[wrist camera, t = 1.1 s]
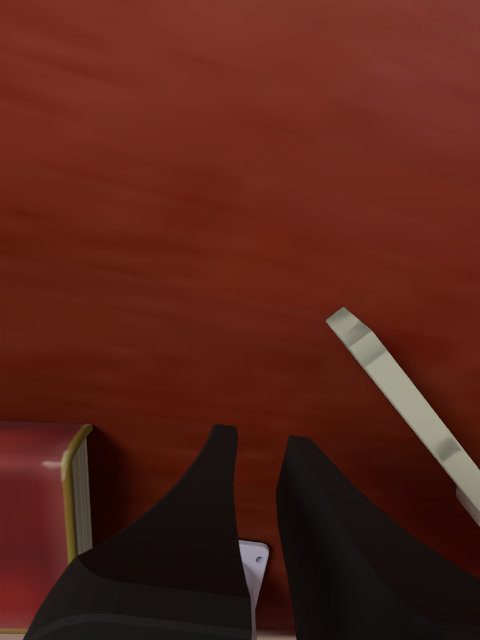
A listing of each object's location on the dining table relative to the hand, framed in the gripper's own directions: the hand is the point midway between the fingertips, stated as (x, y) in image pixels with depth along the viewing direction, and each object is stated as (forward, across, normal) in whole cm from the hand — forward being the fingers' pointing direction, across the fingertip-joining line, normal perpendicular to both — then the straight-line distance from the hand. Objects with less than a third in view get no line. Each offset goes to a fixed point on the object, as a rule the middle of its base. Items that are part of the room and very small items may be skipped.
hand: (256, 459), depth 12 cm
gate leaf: (+10, -10, +2) cm, 14 cm away
